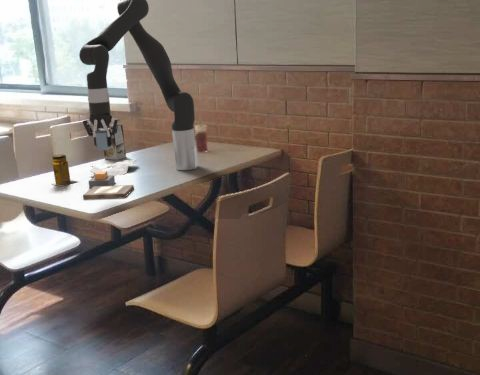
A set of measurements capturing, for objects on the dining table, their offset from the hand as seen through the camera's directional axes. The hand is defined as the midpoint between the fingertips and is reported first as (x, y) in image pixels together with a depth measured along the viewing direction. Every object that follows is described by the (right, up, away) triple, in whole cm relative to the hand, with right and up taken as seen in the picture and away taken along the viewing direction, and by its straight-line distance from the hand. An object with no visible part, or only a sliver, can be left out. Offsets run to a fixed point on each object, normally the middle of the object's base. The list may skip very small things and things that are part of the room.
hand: (103, 146), depth 223 cm
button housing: (-4, -15, +17) cm, 23 cm away
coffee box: (-10, -1, +67) cm, 68 cm away
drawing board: (+1, -18, +3) cm, 18 cm away
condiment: (-22, -14, +25) cm, 36 cm away
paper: (-5, -9, +40) cm, 42 cm away
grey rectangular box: (0, -1, 0) cm, 1 cm away
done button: (-5, -13, +16) cm, 21 cm away
